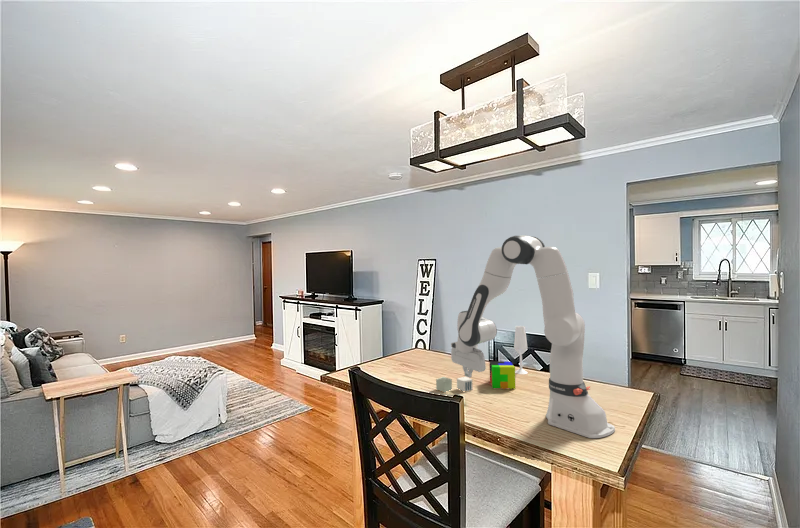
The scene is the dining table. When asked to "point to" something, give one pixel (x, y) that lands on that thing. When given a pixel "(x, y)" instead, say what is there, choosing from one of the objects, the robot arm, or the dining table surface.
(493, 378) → the puzzle toy
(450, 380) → the sage block
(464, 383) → the letter block
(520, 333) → the champagne flute
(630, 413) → the dining table surface
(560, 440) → the dining table surface
